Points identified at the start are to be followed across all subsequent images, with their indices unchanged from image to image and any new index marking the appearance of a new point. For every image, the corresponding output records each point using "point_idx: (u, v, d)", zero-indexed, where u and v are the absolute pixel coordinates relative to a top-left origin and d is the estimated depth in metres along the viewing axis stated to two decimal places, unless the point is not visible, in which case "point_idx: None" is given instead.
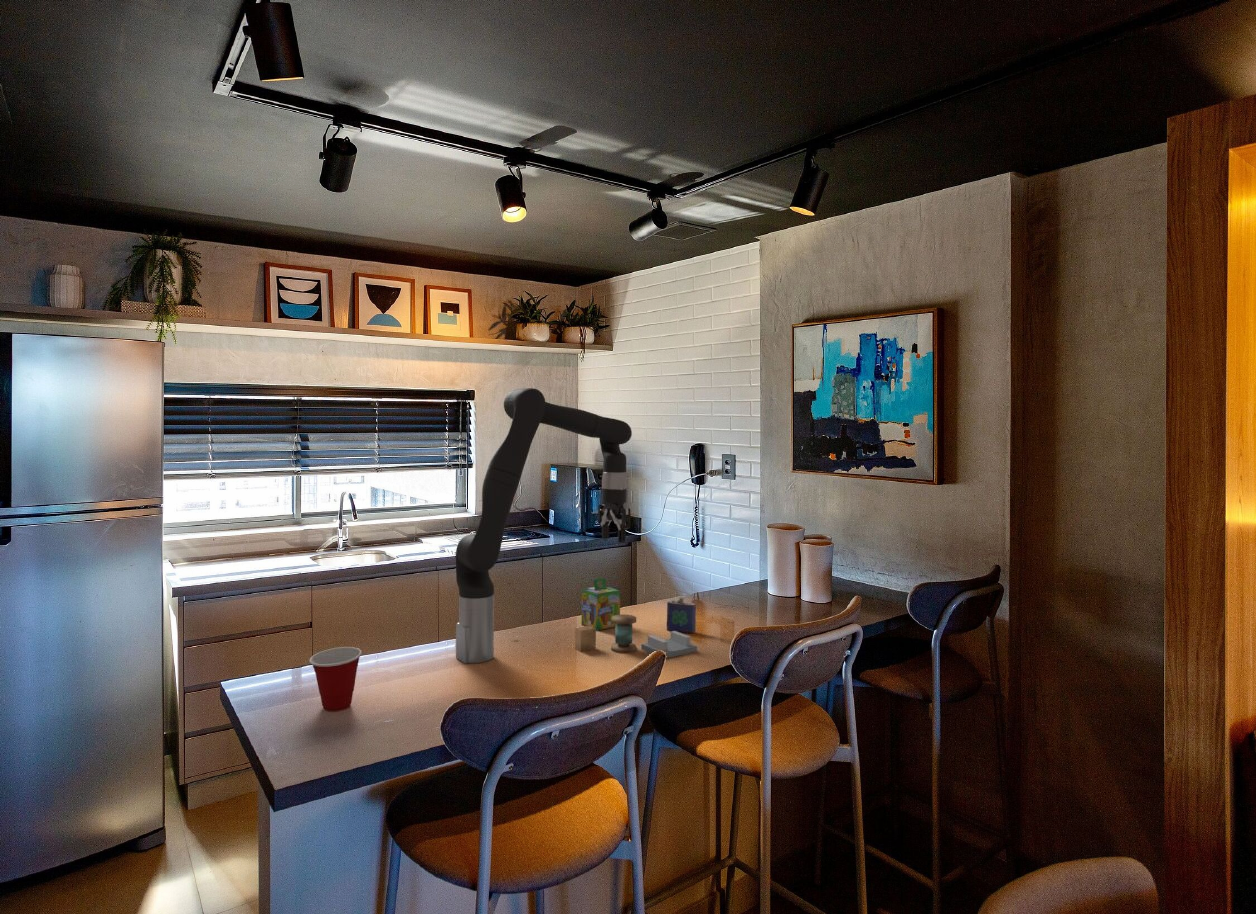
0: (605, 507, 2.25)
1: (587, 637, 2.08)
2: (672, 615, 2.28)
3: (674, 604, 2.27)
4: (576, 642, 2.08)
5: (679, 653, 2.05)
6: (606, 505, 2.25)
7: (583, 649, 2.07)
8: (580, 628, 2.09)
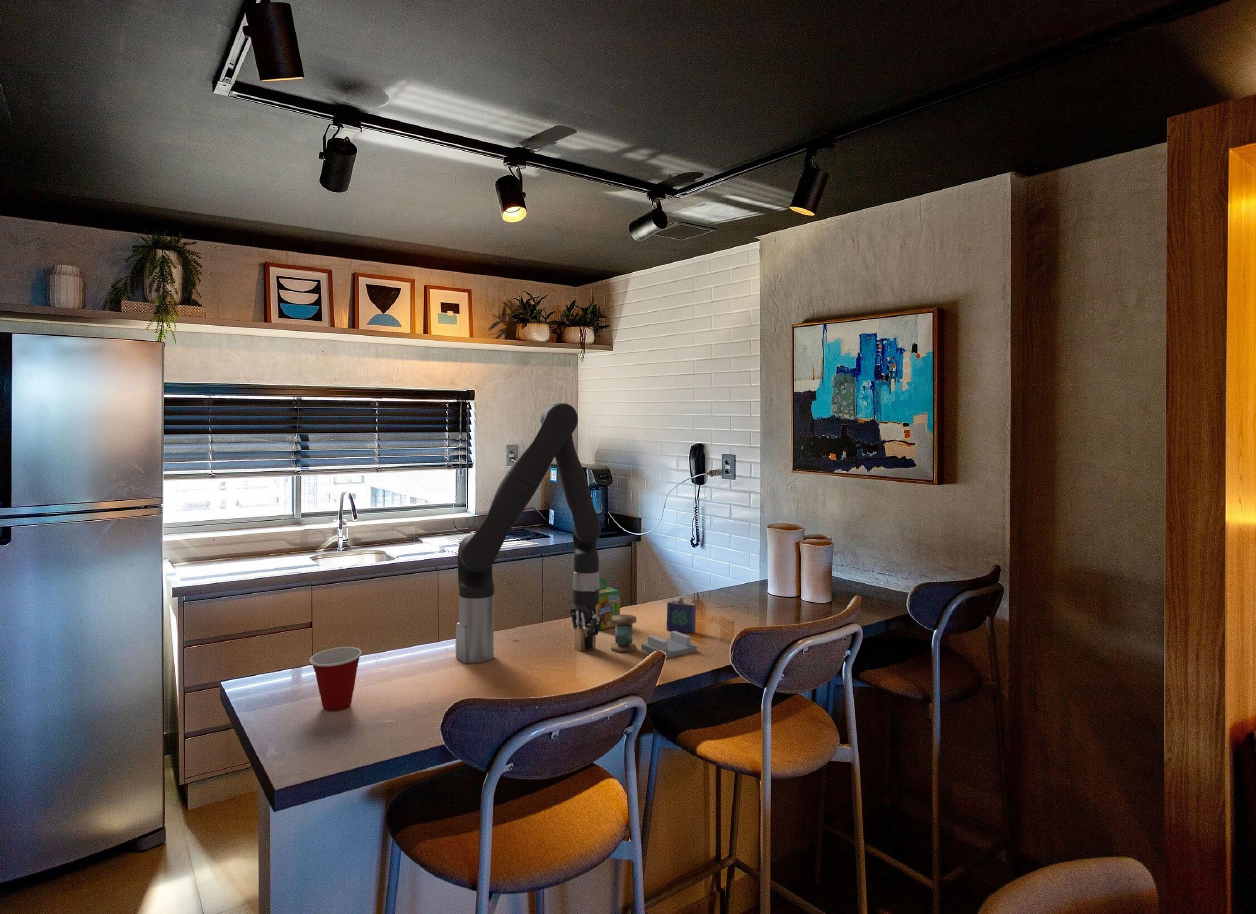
0: (576, 607, 2.11)
1: None
2: (672, 615, 2.28)
3: (674, 604, 2.27)
4: (576, 642, 2.08)
5: (679, 653, 2.05)
6: (577, 604, 2.11)
7: (583, 649, 2.07)
8: (580, 628, 2.09)
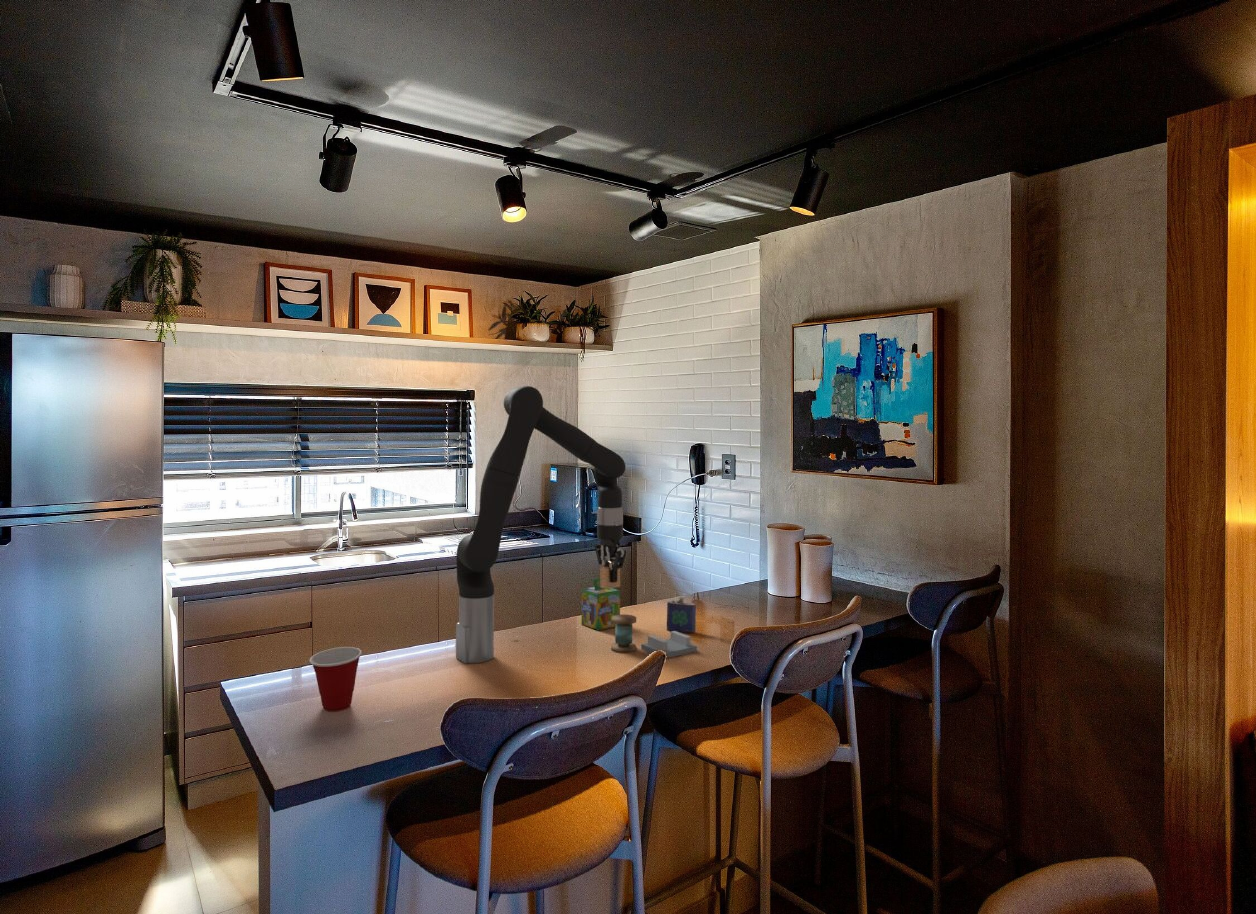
0: (601, 543, 2.18)
1: None
2: (672, 615, 2.28)
3: (674, 604, 2.27)
4: (601, 580, 2.16)
5: (679, 653, 2.05)
6: (601, 540, 2.18)
7: (608, 586, 2.14)
8: (605, 566, 2.16)
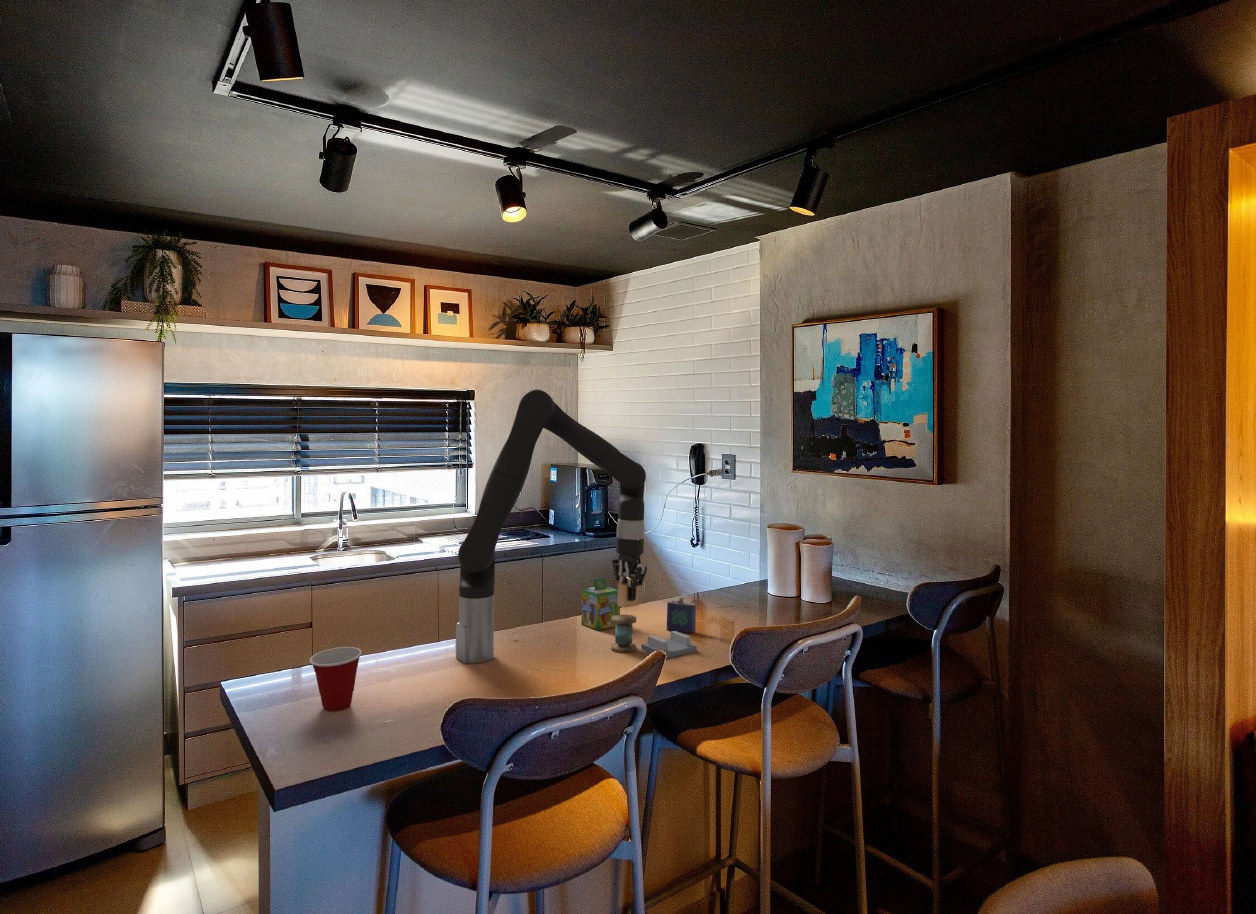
0: (619, 557, 2.03)
1: None
2: (672, 615, 2.28)
3: (674, 604, 2.27)
4: (619, 598, 2.01)
5: (679, 653, 2.05)
6: (620, 554, 2.03)
7: (626, 605, 1.99)
8: (623, 583, 2.01)
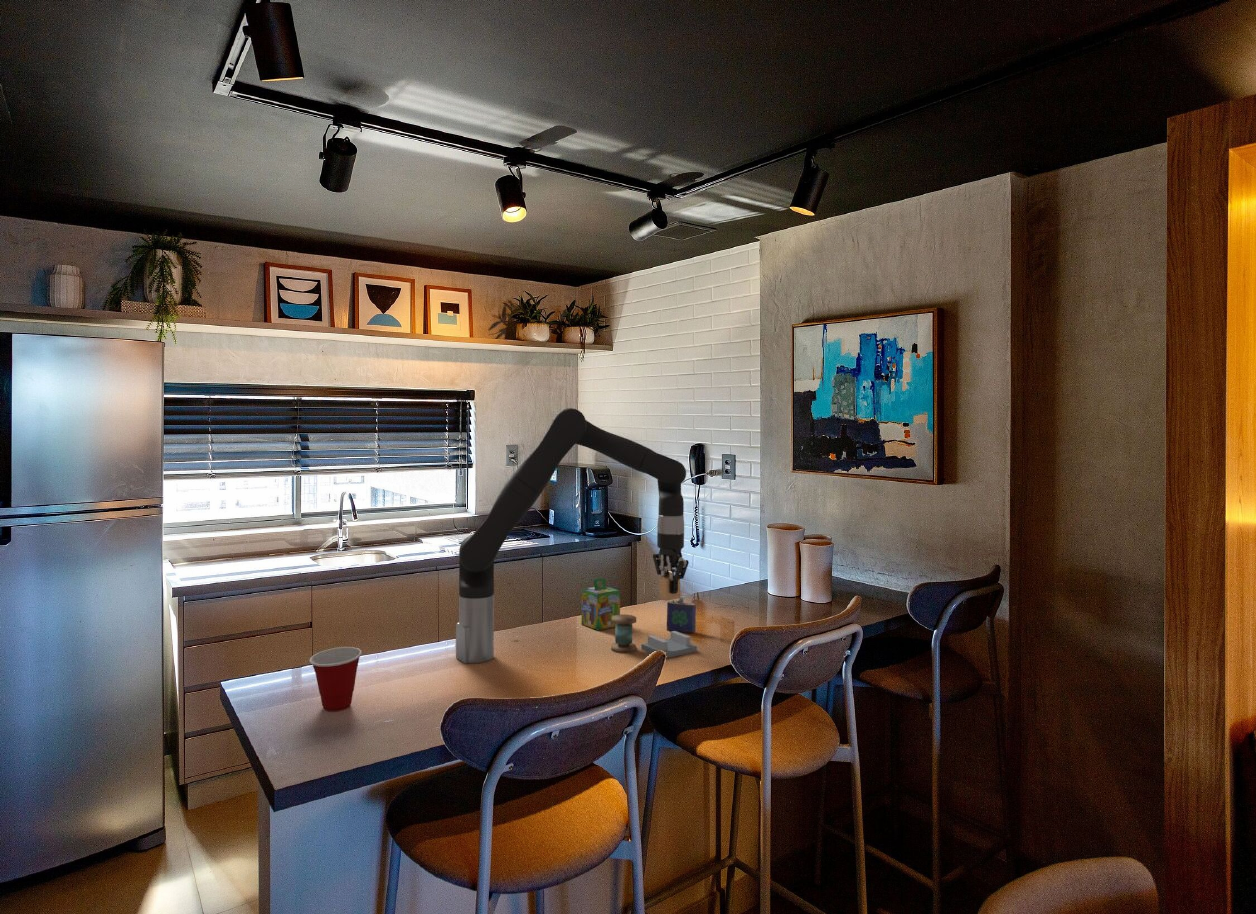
0: (660, 552, 2.10)
1: None
2: (672, 615, 2.28)
3: (674, 604, 2.27)
4: (661, 592, 2.08)
5: (679, 653, 2.05)
6: (661, 549, 2.09)
7: (669, 598, 2.06)
8: (664, 577, 2.08)
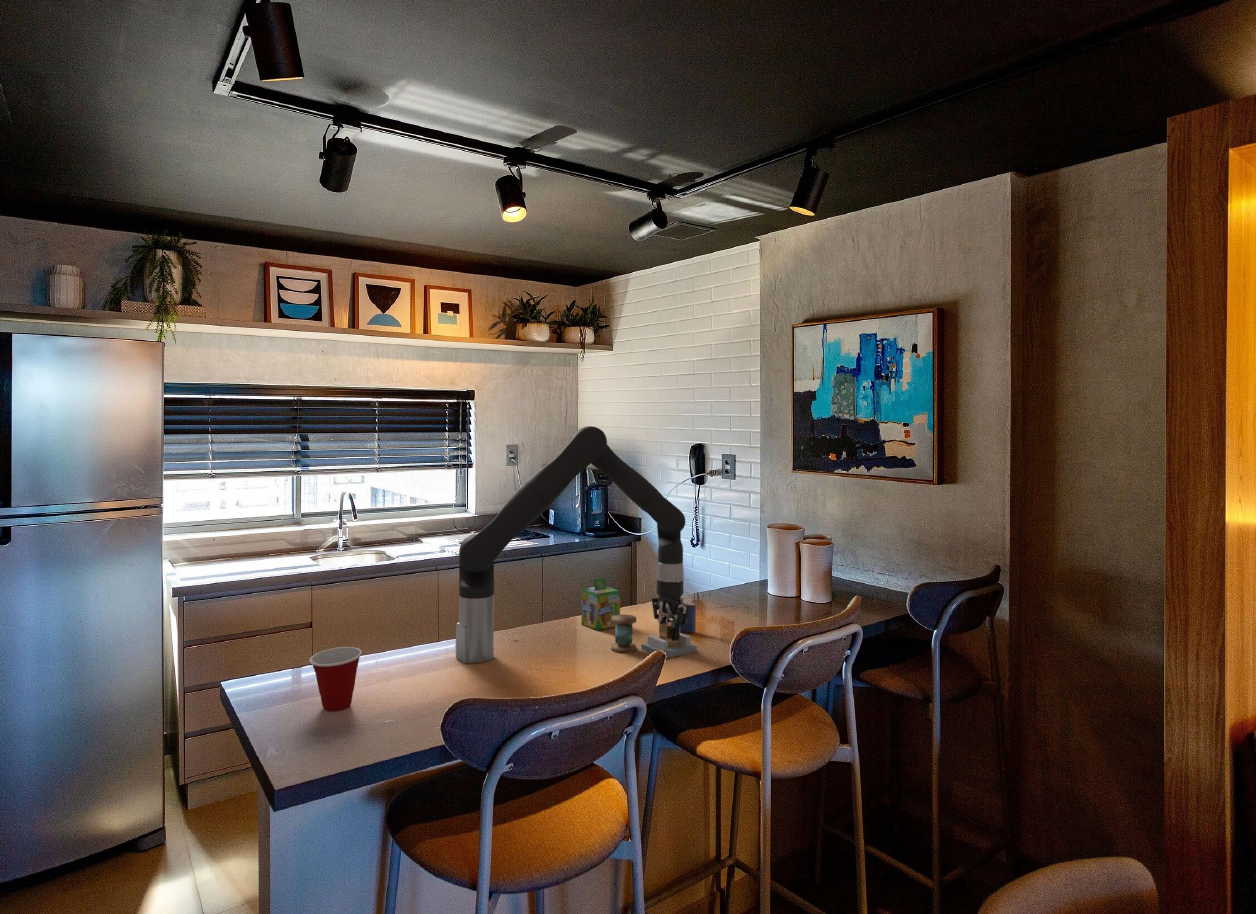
0: (660, 598, 2.10)
1: None
2: None
3: None
4: (661, 638, 2.08)
5: (679, 653, 2.05)
6: (660, 596, 2.10)
7: (668, 645, 2.07)
8: (665, 624, 2.08)
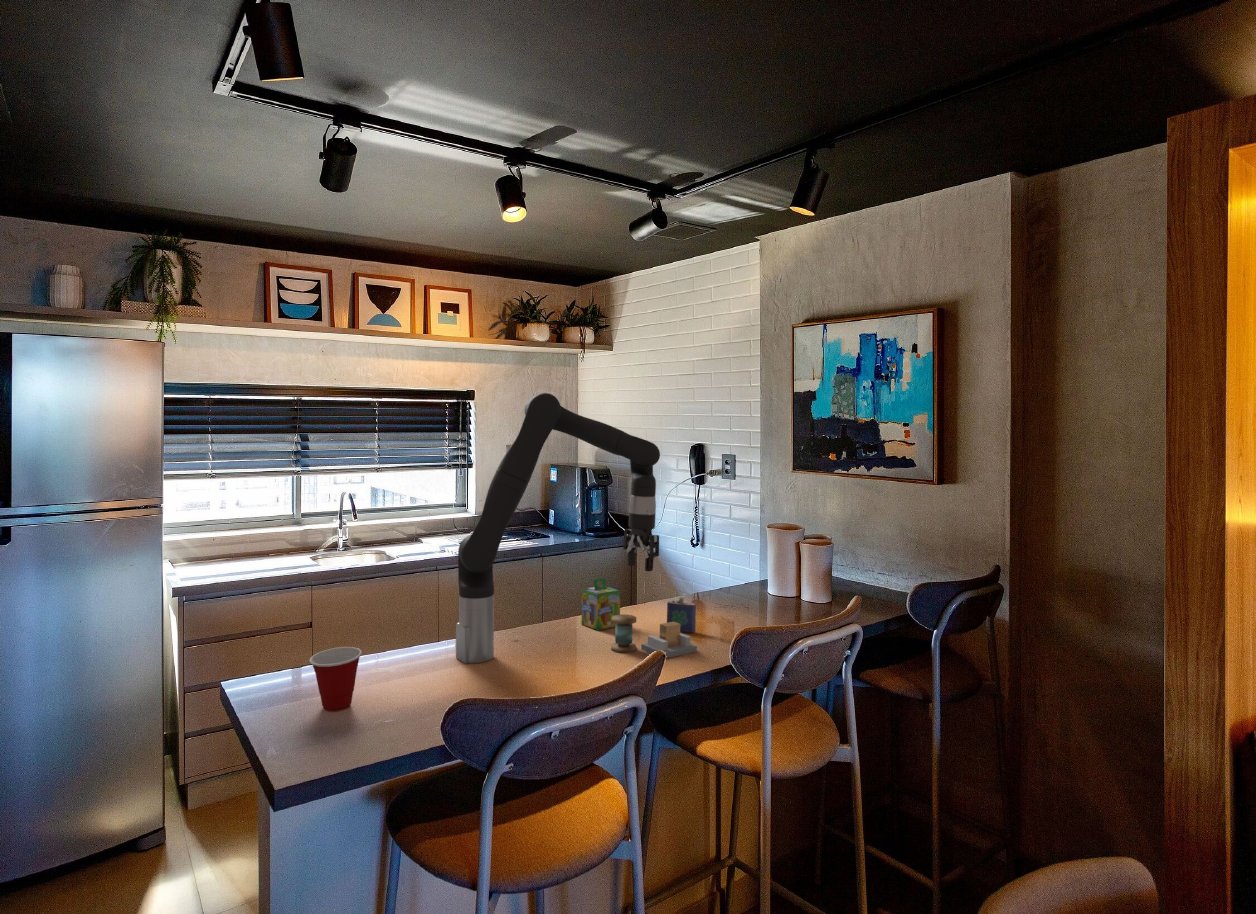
0: (632, 532, 2.13)
1: (672, 633, 2.08)
2: (672, 615, 2.28)
3: (674, 604, 2.27)
4: (661, 638, 2.08)
5: (679, 653, 2.05)
6: (633, 530, 2.12)
7: (668, 645, 2.07)
8: (665, 624, 2.08)
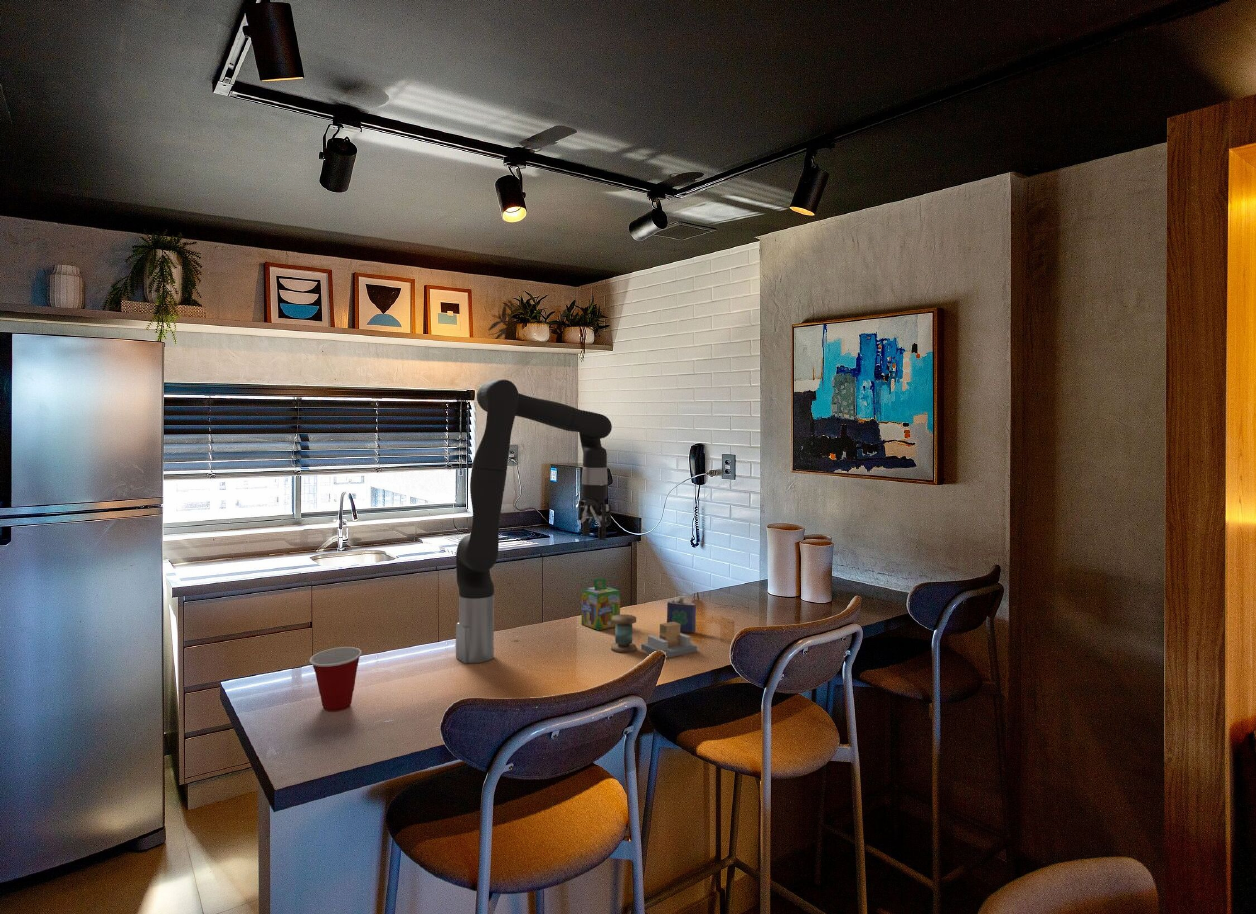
0: (585, 503, 2.19)
1: (672, 633, 2.08)
2: (672, 615, 2.28)
3: (674, 604, 2.27)
4: (661, 638, 2.08)
5: (679, 653, 2.05)
6: (586, 501, 2.19)
7: (668, 645, 2.07)
8: (665, 624, 2.08)
